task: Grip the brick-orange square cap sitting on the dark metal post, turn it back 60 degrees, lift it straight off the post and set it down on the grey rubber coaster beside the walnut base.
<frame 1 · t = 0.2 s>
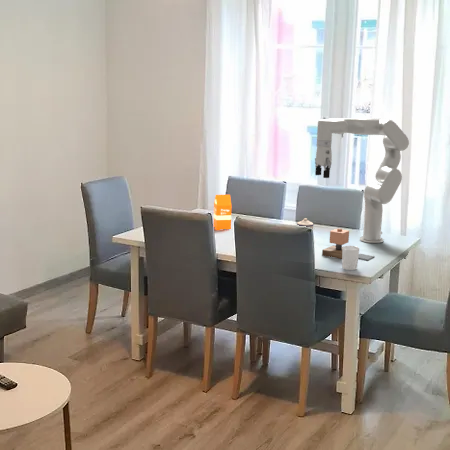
hand: (322, 176, 362), 37 cm above the table, tool pointing down, fingers open, 9 cm apart
cap: (339, 242, 349), point 7 cm above the table, touching post base
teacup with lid: (305, 239, 383), on the table
orange juice: (222, 228, 404), on the table
coaster: (363, 257, 347), on the table
post base: (338, 255, 350), on the table
white cup: (349, 268, 327), on the table
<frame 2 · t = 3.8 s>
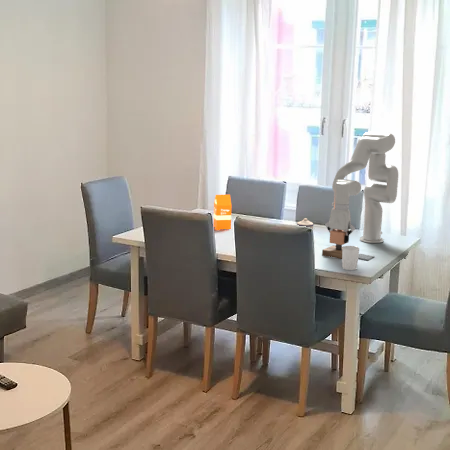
hand: (339, 241, 349), 7 cm above the table, tool pointing down, fingers closed on cap, 7 cm apart
cap: (339, 242, 349), point 7 cm above the table, touching gripper, post base
everything else where it was.
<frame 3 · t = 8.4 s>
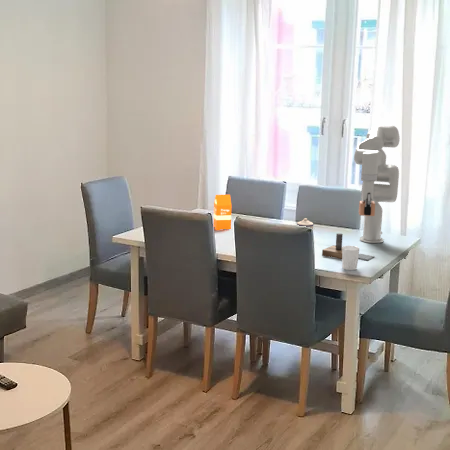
hand: (366, 213, 341), 23 cm above the table, tool pointing down, fingers closed on cap, 7 cm apart
cap: (366, 214, 342), point 22 cm above the table, touching gripper
everything else where it was.
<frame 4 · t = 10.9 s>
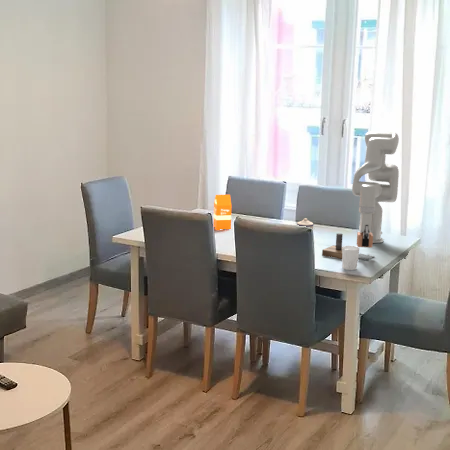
hand: (364, 244, 345), 7 cm above the table, tool pointing down, fingers closed on cap, 7 cm apart
cap: (364, 245, 345), point 6 cm above the table, touching gripper
everything else where it was.
when the fingers open (3 cm above the table, at t = 12.9 s): cap drops 2 cm, resting on coaster.
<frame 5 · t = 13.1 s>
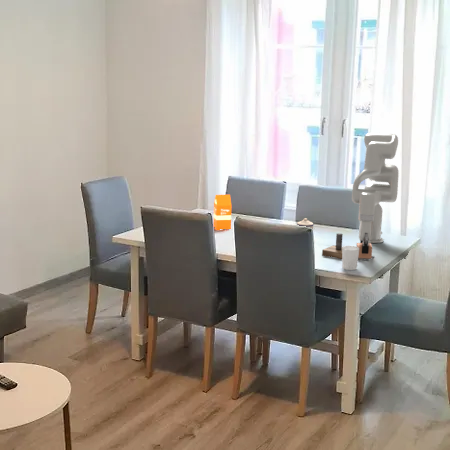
hand: (364, 251, 346), 3 cm above the table, tool pointing down, fingers open, 9 cm apart
cap: (363, 256, 347), point 1 cm above the table, touching coaster
everything else where it was.
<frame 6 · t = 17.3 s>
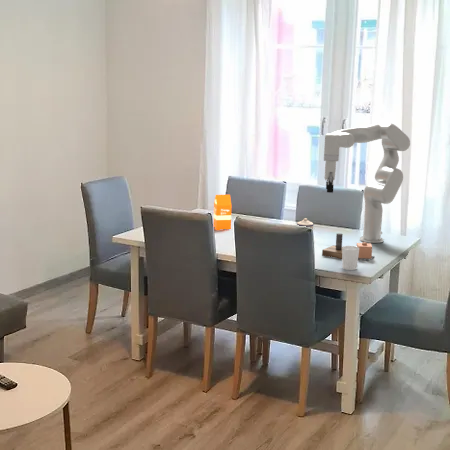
hand: (329, 190, 358), 30 cm above the table, tool pointing down, fingers open, 9 cm apart
nothing on the table moved.
at the end: cap inside the target area on the coaster (0.1 cm from its centre), point 0.6 cm above the coaster's base; cap tilted 0°; cap touching coaster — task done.
